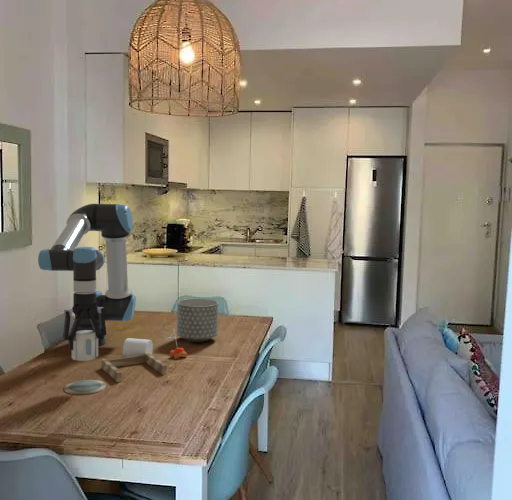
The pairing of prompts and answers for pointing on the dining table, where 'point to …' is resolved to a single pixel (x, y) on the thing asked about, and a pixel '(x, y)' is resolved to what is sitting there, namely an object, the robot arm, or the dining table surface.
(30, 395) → the dining table surface
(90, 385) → the coaster
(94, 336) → the blue handled white cup
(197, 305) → the planter
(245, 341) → the dining table surface
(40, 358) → the dining table surface
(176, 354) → the orange lump with branch
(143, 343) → the mug
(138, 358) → the wooden u-shaped frame
